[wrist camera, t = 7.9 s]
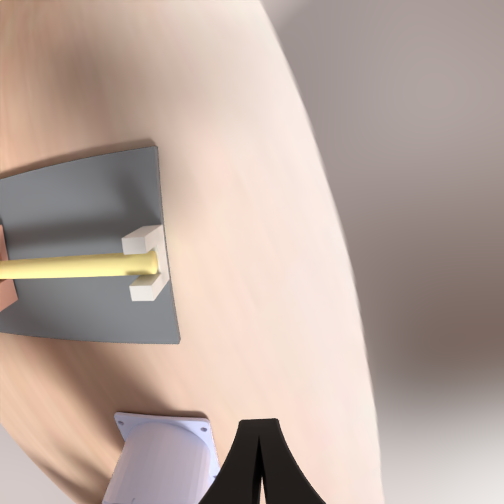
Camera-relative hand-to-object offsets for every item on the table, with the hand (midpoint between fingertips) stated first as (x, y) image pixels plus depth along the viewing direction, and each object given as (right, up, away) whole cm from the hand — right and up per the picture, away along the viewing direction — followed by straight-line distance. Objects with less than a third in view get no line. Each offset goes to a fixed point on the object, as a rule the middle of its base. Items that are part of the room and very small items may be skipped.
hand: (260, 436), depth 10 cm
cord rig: (-17, +6, +8) cm, 20 cm away
